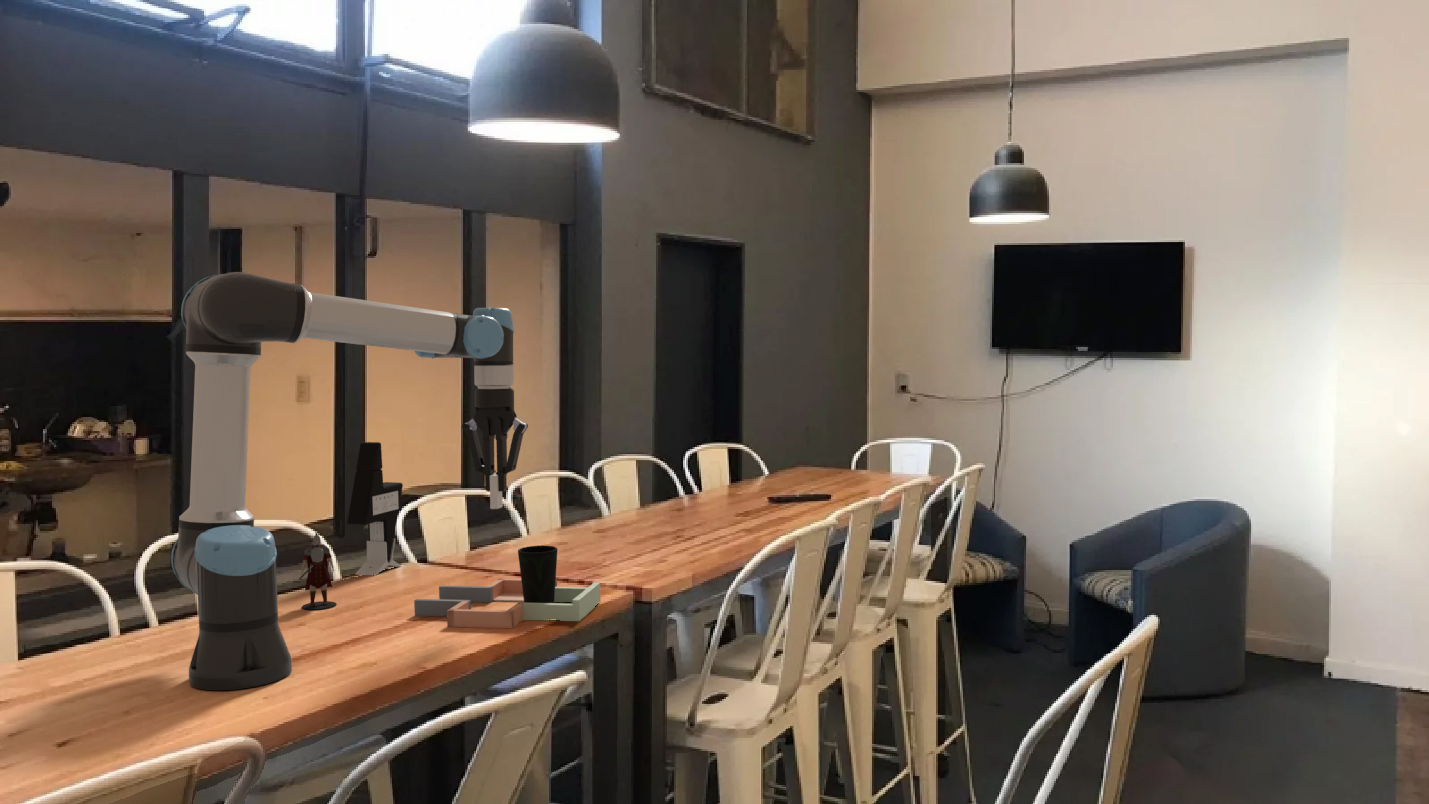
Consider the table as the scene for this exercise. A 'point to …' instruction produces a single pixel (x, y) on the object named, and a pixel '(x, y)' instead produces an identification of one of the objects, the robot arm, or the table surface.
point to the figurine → (317, 574)
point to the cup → (538, 573)
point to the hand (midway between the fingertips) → (496, 507)
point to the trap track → (459, 600)
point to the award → (375, 508)
